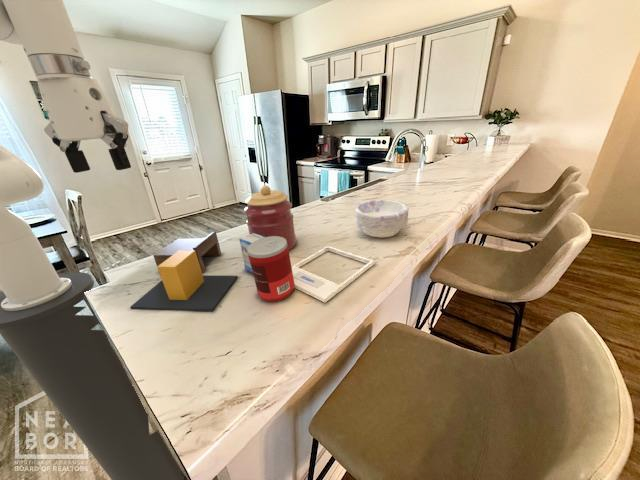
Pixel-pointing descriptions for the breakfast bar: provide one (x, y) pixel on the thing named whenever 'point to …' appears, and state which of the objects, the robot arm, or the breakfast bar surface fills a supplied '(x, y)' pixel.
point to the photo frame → (319, 285)
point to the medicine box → (244, 244)
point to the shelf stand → (191, 248)
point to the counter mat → (198, 301)
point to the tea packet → (181, 275)
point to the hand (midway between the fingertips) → (103, 170)
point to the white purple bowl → (381, 217)
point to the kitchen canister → (270, 215)
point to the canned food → (271, 268)
